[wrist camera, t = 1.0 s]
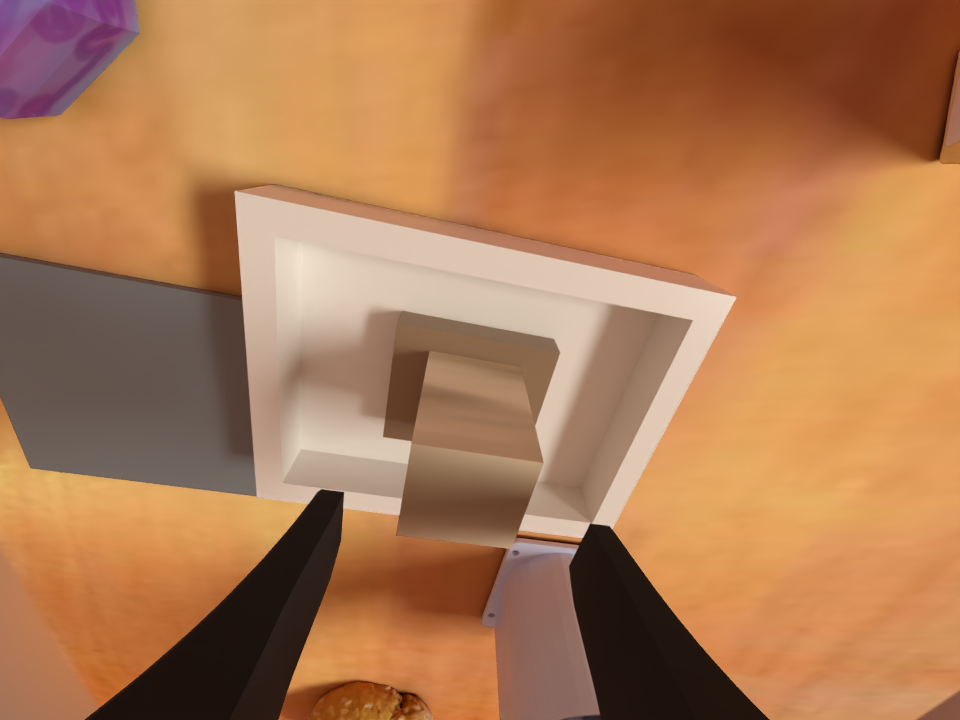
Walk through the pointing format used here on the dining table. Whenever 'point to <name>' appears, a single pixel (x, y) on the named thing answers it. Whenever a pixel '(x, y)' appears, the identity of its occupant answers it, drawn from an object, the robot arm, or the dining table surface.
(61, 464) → the rubber mat
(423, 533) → the maple block
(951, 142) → the candy box
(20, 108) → the lantern
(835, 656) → the dining table surface
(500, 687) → the robot arm
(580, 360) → the tray
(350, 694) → the bagel
